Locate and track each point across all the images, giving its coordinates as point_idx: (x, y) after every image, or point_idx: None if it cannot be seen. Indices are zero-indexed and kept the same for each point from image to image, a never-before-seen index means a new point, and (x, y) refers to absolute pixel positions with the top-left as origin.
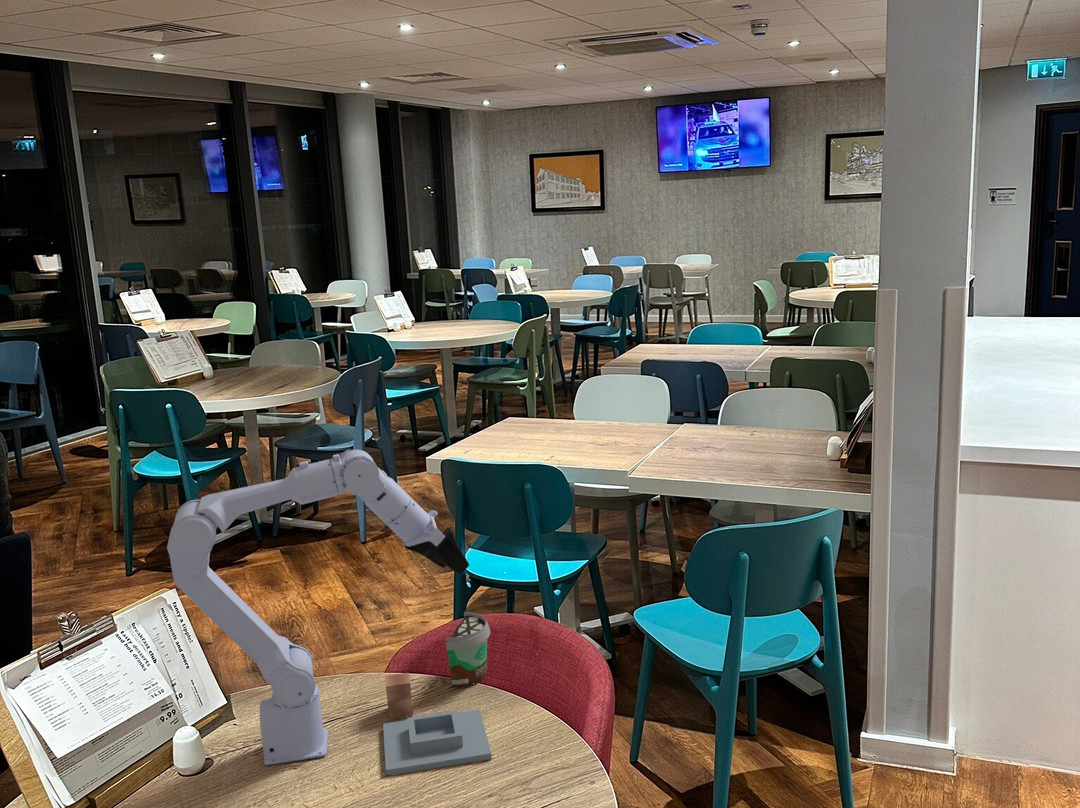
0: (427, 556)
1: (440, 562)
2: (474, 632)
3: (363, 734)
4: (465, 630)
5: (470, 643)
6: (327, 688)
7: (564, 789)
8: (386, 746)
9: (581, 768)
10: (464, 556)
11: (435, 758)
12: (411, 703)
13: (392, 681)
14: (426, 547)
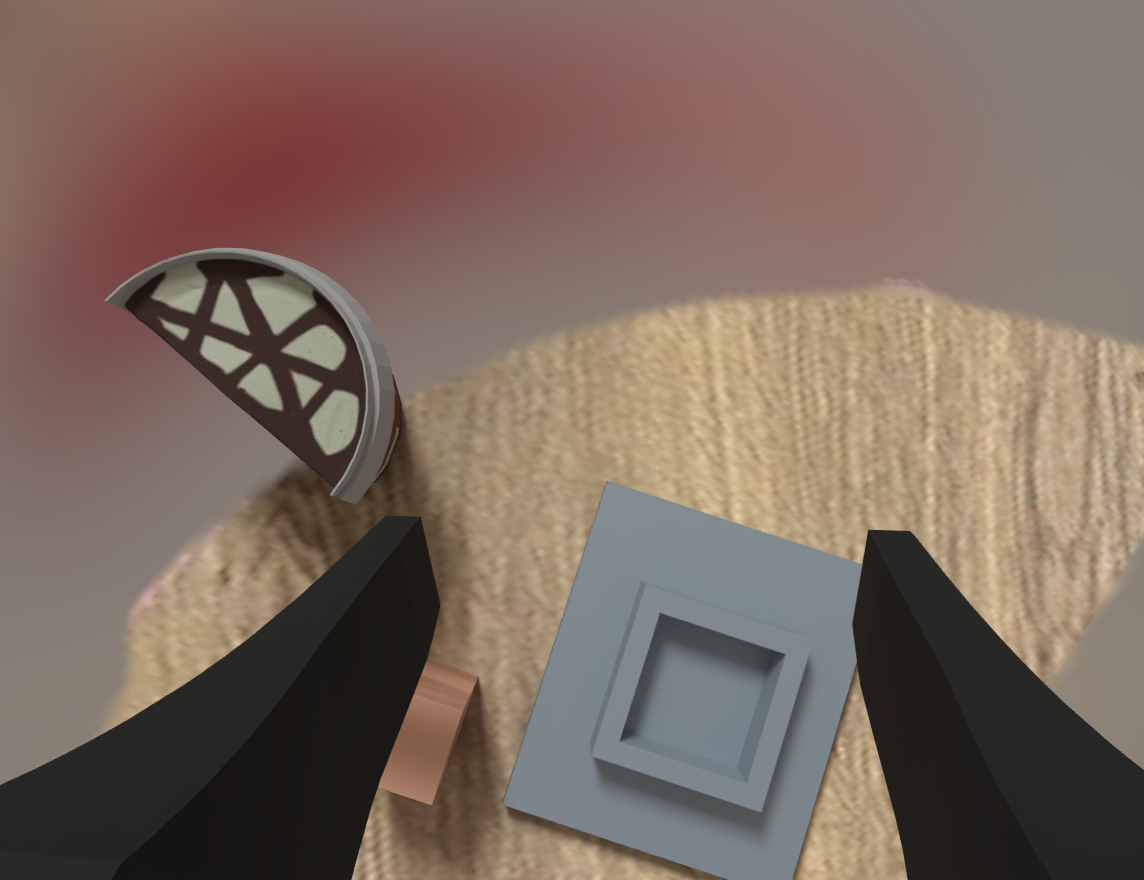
0: (370, 802)
1: (419, 643)
2: (318, 345)
3: (494, 867)
4: (275, 371)
5: (387, 399)
6: None
7: (1131, 463)
8: (652, 847)
9: (1064, 368)
10: (955, 590)
11: (813, 735)
12: (472, 690)
13: (405, 766)
14: (320, 841)
